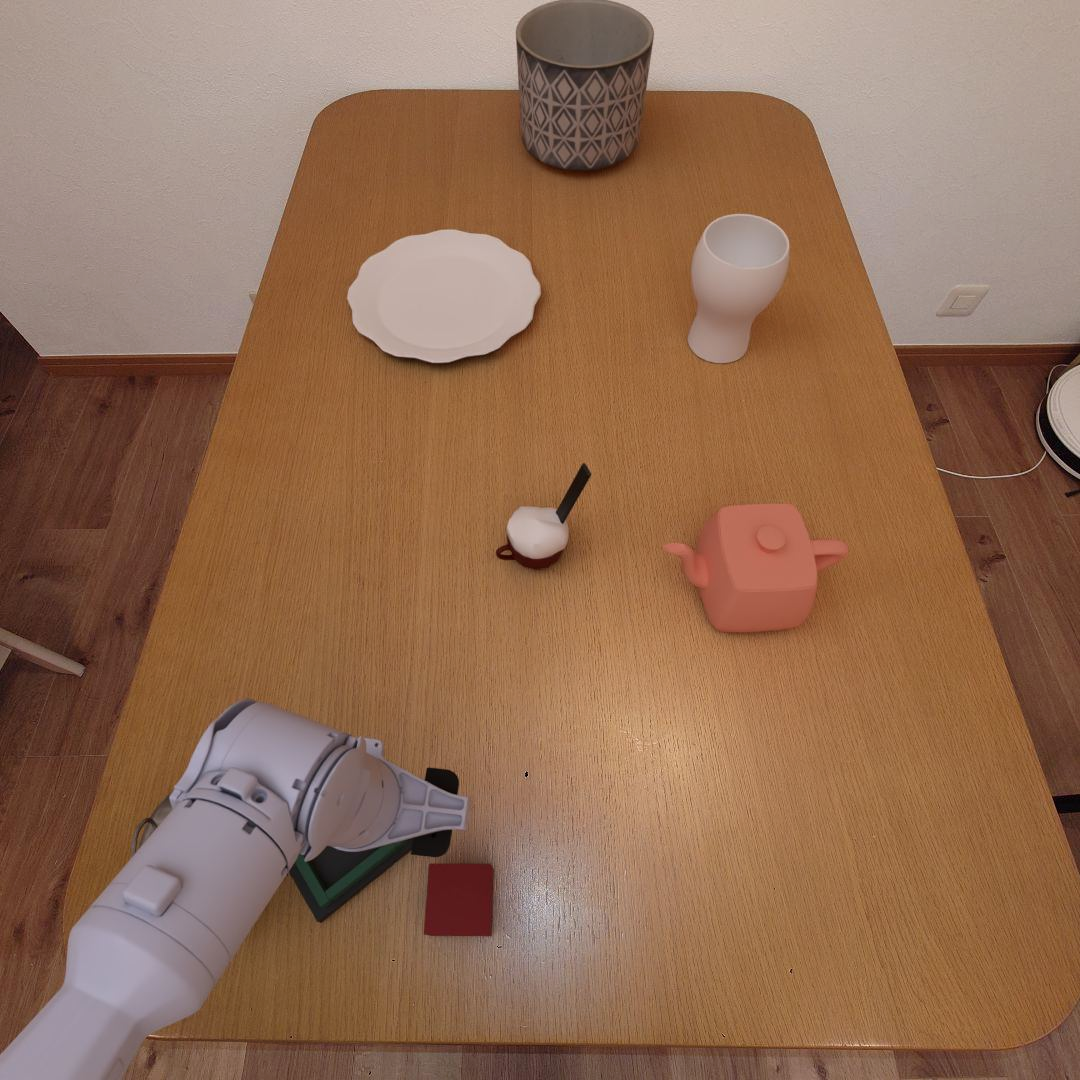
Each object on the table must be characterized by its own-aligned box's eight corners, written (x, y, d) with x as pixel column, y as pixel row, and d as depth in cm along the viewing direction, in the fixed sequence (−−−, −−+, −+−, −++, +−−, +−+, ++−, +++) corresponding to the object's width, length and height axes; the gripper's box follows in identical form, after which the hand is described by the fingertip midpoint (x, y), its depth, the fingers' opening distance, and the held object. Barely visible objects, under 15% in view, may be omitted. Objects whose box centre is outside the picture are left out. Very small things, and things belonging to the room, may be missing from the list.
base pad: (321, 923, 59) (312, 921, 56) (269, 831, 62) (258, 826, 60) (422, 841, 62) (418, 836, 59) (367, 758, 65) (361, 751, 63)
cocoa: (497, 579, 75) (490, 517, 64) (497, 527, 78) (490, 461, 67) (588, 576, 75) (595, 514, 64) (584, 525, 78) (590, 458, 68)
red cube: (430, 936, 58) (423, 934, 55) (435, 868, 61) (428, 863, 57) (491, 936, 58) (488, 935, 55) (494, 869, 61) (491, 863, 57)
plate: (369, 390, 88) (365, 379, 86) (338, 260, 100) (335, 248, 98) (563, 347, 91) (563, 336, 90) (511, 227, 104) (510, 215, 102)
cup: (663, 355, 91) (683, 254, 78) (693, 303, 95) (717, 200, 82) (743, 383, 88) (778, 284, 75) (770, 328, 93) (807, 226, 80)
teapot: (836, 634, 71) (879, 588, 62) (657, 644, 71) (673, 598, 62) (808, 536, 77) (843, 480, 68) (642, 544, 77) (655, 489, 68)
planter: (652, 124, 117) (667, 8, 103) (622, 193, 107) (635, 76, 93) (540, 104, 120) (540, -11, 106) (502, 170, 111) (496, 53, 96)
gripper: (466, 738, 44) (489, 767, 56) (238, 713, 45) (309, 748, 57) (447, 864, 41) (476, 866, 53) (204, 834, 42) (287, 843, 54)
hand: (388, 811), depth 55 cm, fingers open, 7 cm apart
